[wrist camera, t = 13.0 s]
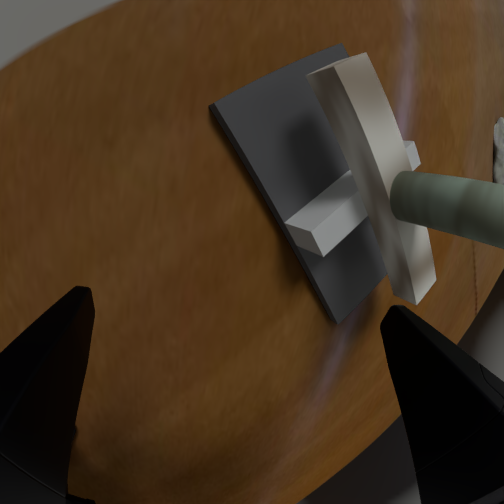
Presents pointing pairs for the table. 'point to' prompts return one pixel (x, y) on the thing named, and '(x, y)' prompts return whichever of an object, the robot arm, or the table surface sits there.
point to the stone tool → (499, 152)
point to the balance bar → (400, 179)
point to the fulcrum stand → (307, 179)
